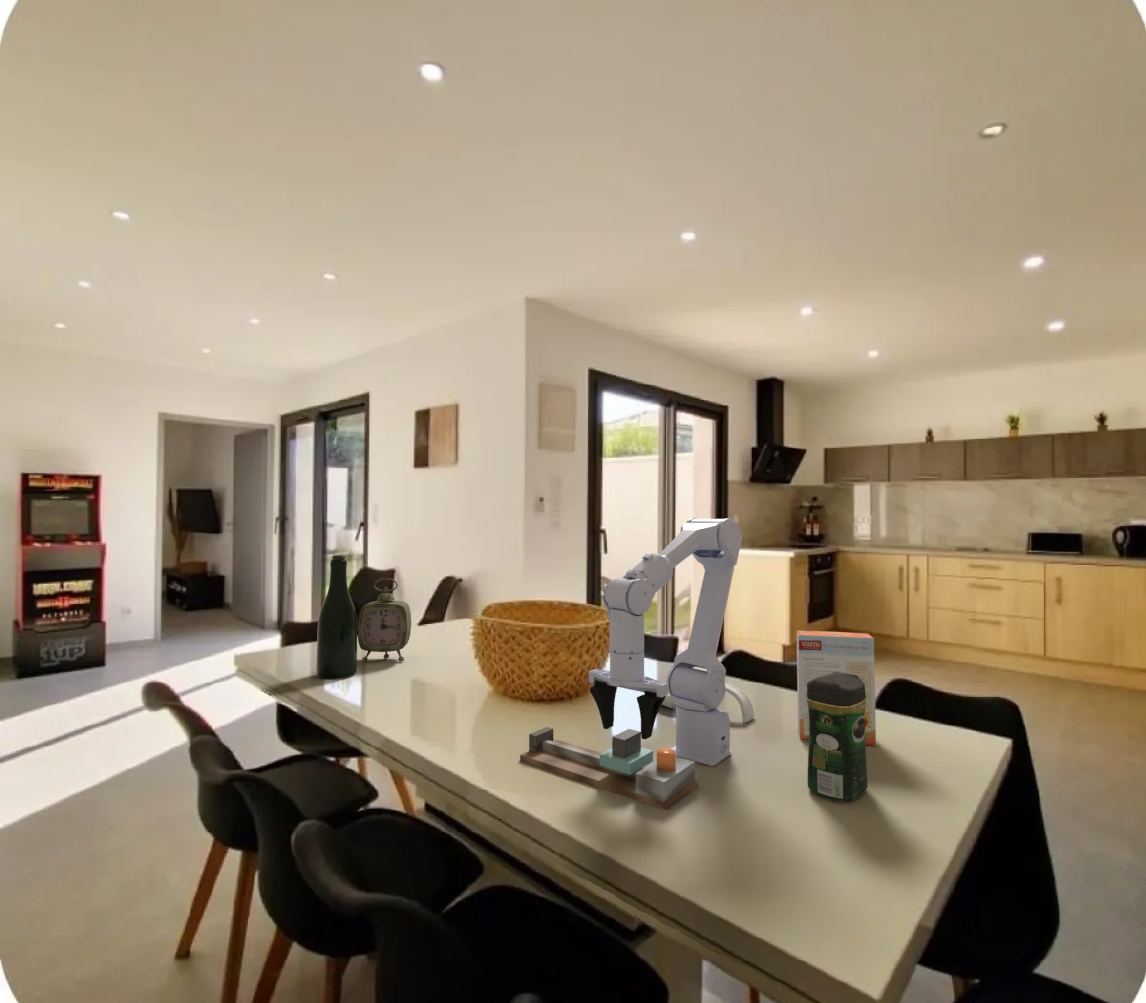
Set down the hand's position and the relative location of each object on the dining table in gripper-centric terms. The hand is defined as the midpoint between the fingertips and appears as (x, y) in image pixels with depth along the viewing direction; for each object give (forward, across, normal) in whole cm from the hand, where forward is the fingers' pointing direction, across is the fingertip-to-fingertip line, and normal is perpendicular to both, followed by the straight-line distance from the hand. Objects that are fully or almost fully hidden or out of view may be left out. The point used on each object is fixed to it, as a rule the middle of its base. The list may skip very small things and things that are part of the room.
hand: (627, 732), depth 103 cm
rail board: (+8, -5, 0) cm, 9 cm away
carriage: (+5, 0, 0) cm, 5 cm away
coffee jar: (+8, +28, +18) cm, 35 cm away
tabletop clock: (+8, -104, +26) cm, 108 cm away
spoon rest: (+9, -8, +42) cm, 44 cm away
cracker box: (+8, +22, +43) cm, 49 cm away
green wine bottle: (+8, -100, +7) cm, 100 cm away
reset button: (+4, +8, 0) cm, 9 cm away
